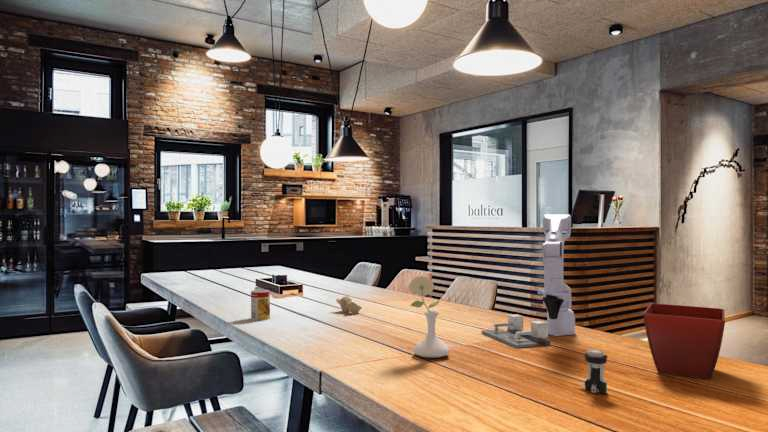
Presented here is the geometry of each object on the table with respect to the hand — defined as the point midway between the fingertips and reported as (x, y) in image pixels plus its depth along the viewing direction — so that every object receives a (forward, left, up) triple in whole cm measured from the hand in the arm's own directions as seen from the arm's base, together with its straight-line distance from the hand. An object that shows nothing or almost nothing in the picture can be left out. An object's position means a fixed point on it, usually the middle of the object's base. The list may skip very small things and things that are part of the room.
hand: (553, 318), depth 178 cm
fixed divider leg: (+3, -23, -8) cm, 25 cm away
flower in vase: (+43, -4, -10) cm, 44 cm away
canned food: (+87, -85, -10) cm, 122 cm away
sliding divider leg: (+3, -8, -8) cm, 12 cm away
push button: (+18, +41, -10) cm, 46 cm away
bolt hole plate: (+8, -15, -9) cm, 19 cm away
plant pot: (-18, +35, -10) cm, 41 cm away
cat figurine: (+48, -86, -10) cm, 99 cm away
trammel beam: (0, -15, -9) cm, 18 cm away
